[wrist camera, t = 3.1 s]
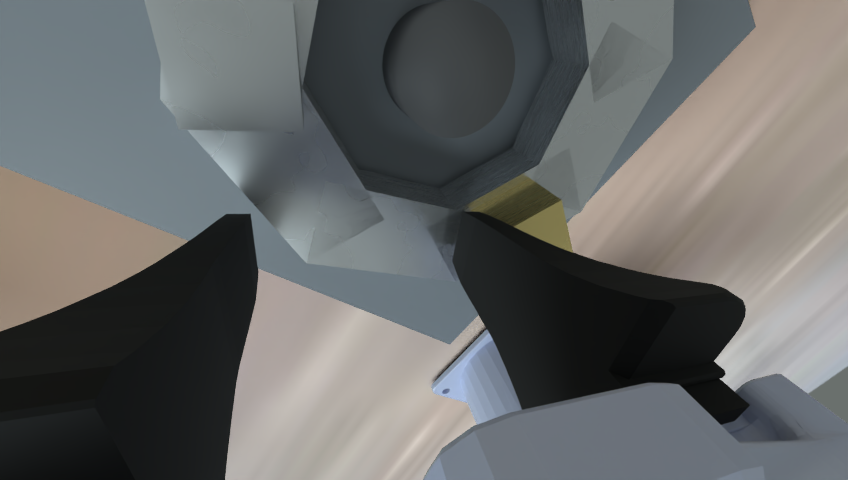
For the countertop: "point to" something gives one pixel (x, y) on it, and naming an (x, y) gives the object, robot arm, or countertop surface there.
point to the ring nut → (384, 195)
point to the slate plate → (339, 100)
